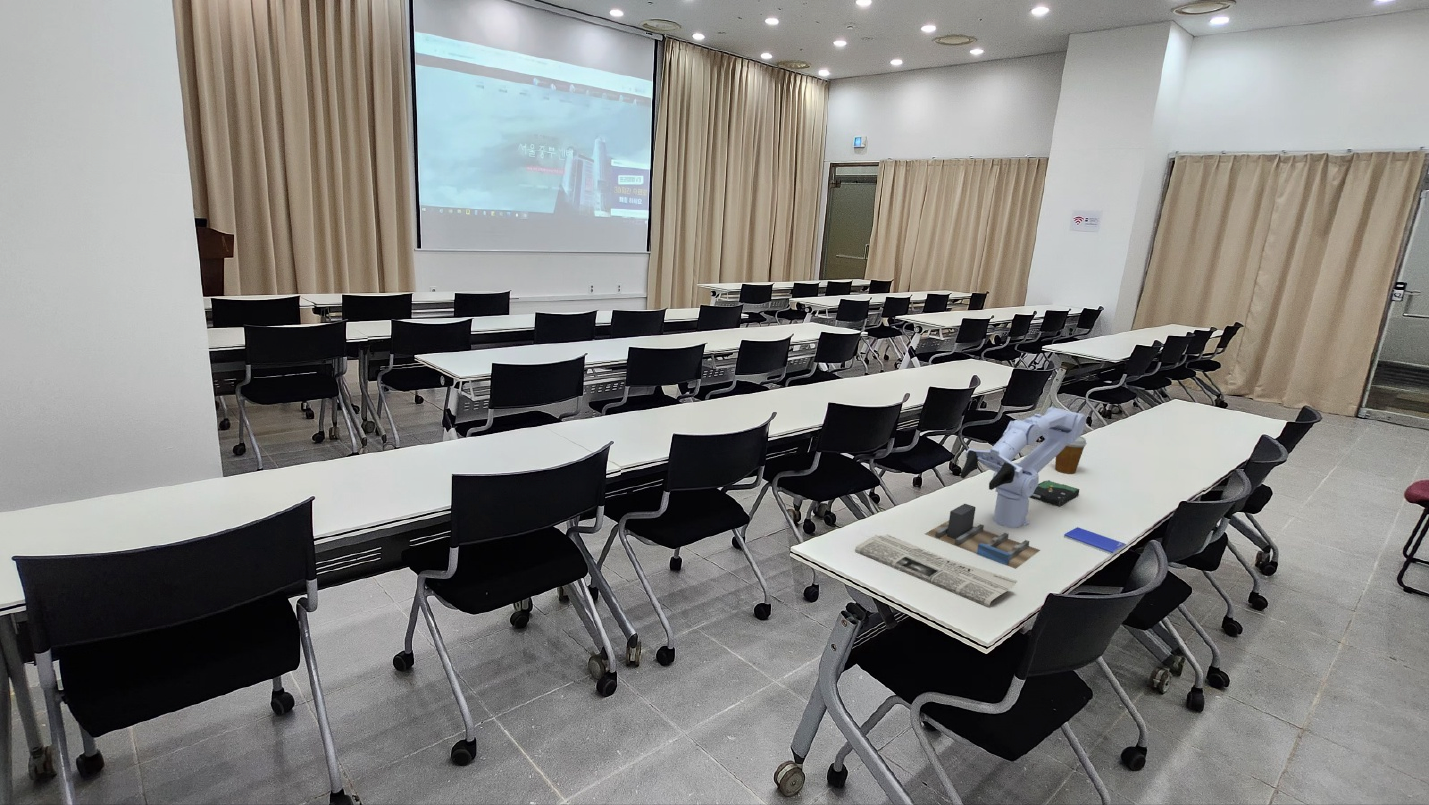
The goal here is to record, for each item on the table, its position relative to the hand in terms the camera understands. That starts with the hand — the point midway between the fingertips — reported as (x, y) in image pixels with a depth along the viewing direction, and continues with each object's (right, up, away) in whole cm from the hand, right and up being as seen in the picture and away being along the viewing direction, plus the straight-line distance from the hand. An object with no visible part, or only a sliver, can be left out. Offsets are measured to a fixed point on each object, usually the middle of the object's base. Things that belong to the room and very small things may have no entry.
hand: (975, 480), depth 176 cm
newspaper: (-14, -21, -10) cm, 27 cm away
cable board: (+3, -17, +4) cm, 18 cm away
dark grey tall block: (-1, -15, +8) cm, 17 cm away
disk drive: (+38, -10, +40) cm, 57 cm away
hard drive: (+35, -18, +10) cm, 40 cm away
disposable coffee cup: (+54, -4, +64) cm, 84 cm away
